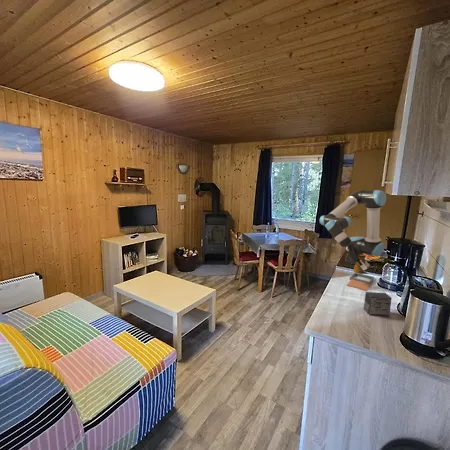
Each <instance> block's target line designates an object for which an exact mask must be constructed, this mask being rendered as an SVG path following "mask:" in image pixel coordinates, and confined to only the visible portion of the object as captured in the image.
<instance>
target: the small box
mask: <svg viewBox="0 0 450 450" xmlns="http://www.w3.org/2000/svg"><path fill="white" fill-rule="evenodd" d="M392 300H393V299H392V297H391V296H390V295H389V294H388V293H386V292H376V291H375V292H373V291H372V292H371V291H365V296H364V303H363V305H364V306H363V310H364V311H365V313H367V315H368V314H369V316H380V317H390V314H391V306H392Z"/></svg>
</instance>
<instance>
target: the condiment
mask: <svg viewBox="0 0 450 450" xmlns="http://www.w3.org/2000/svg"><path fill="white" fill-rule="evenodd" d="M357 256H358V258H359V259H360V260H361V261H362V262H363V263H364V264H365V261H367V260H366V255H365V254H363V255H361V254H357ZM353 266H354V267H353V269H352V270H351V271H352V272H353V273H357V274H363V275H369V273H368V272H366V270H363V269H362V268H361V267H360V265H359V264H358V263H357V262H356V263H355V264H353Z"/></svg>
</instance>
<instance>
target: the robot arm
mask: <svg viewBox="0 0 450 450" xmlns="http://www.w3.org/2000/svg"><path fill="white" fill-rule="evenodd" d="M386 202H387V195H386V193H385V191H383V190H378V189H360V190H357V191H354V192H353V193H351V194H350V195H347V197H346V199H345V200H344V201H342V203H340V204H339V205H338V206H337V207H336V208H334V209H333V210H332V211H331V212H329V213H328V214H327V215H321V216H320V218H319V224H320V225H321V226H324V227H325V228H326V230H327V231H328V232H329V233H330V234H331V236H332V237H333V238H334V240H335V241H337V243H338V244H339V245H340V246H341V248H345V249H344V250H345V252H346V256H345V257H344V259H345V260H344V262H346V263H347V262H348V264H350V263H352V264H351V265H355V263H356V262H357V263H358V264H359V265H360V267H361V268H362V269H363V270H364V271H366V270H367V269H368V268H369V267H370V266H371V265H370V263H368V261H367V260H366V261H365V264H364V263H363V262H362V261H361V260H360V259H359V258H358V256H357V254H361V255H365V254H366V255H370V256H373V257H379V256H381V255H382V254H383V252H384V250H385V244H384V242H382V239H381V238H380V219H381V217H380V216H381V215H380V214H381V209H382V208H383V206H385V205H386ZM357 205H364V208H365V209H366V237H364V236H350V237H348V235H347V233H346V231H344V230H345V229H347V228H348V227H350V226H351V225H352V220H351V218H350V217H349V216H344V215H345V214H346V213H348V212H349V210H351V209H352V208H354V207H357Z"/></svg>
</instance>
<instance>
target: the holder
mask: <svg viewBox="0 0 450 450" xmlns="http://www.w3.org/2000/svg"><path fill="white" fill-rule="evenodd" d="M357 277H360V278H364V279H360V278H357ZM352 279H353V280H357V281H360V282H364V283H368V284H371V285H372V283H374V280H375V277H374V276H371V275H369V274H357V273H355V272H353V274H352V275H351V276H349V281H351V280H352ZM365 279H368V280H369V281H368V280H365Z"/></svg>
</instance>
